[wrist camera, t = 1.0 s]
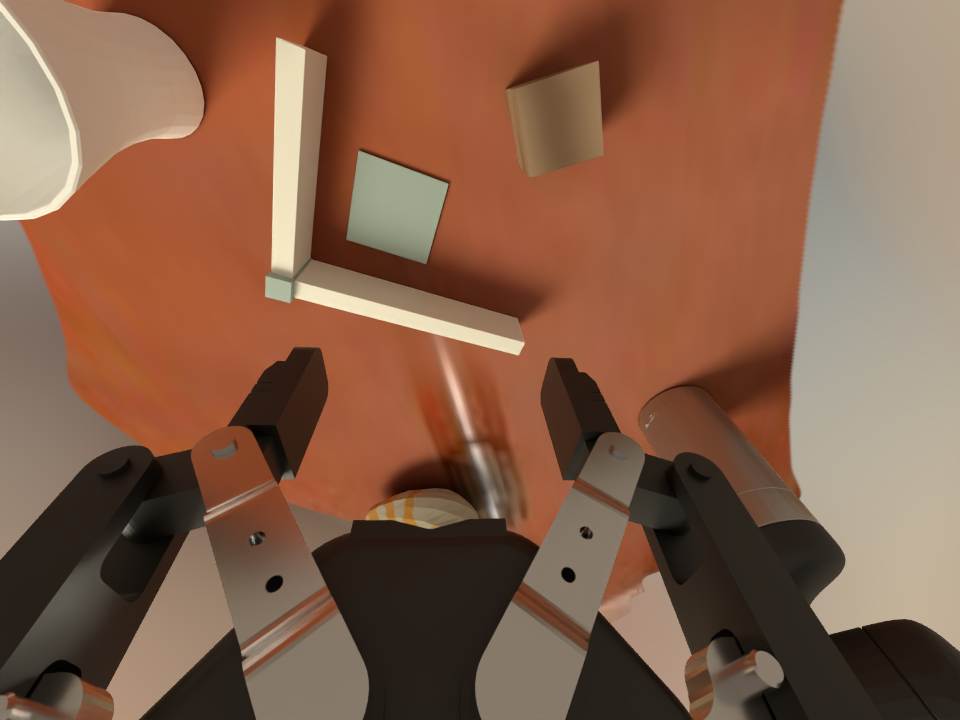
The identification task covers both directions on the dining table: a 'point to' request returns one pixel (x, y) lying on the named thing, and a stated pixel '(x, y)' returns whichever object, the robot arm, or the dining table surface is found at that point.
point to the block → (557, 119)
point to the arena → (359, 221)
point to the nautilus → (424, 508)
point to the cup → (81, 97)
